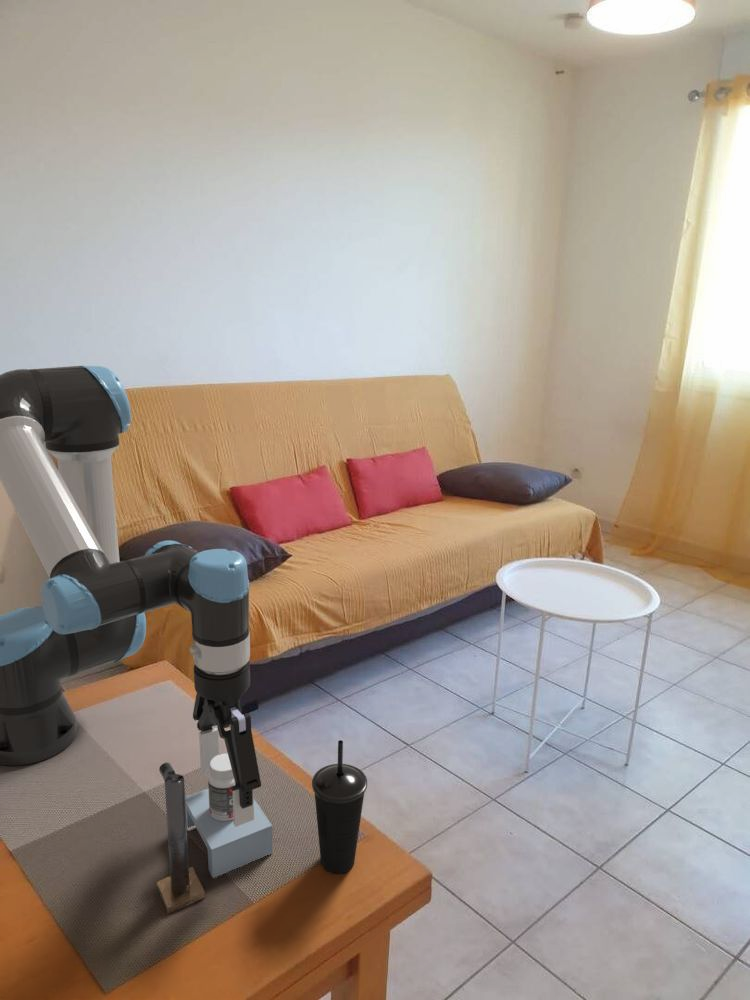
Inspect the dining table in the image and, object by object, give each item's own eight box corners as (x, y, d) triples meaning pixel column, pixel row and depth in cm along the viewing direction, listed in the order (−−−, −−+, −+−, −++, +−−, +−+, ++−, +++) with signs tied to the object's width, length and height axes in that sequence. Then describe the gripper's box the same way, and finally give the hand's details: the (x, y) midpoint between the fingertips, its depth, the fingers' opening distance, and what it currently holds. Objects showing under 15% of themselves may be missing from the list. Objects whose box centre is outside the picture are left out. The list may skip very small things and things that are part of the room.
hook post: (153, 879, 99) (145, 769, 93) (189, 865, 101) (183, 756, 96) (168, 913, 94) (160, 798, 88) (205, 897, 96) (200, 785, 91)
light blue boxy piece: (184, 824, 109) (183, 797, 107) (240, 804, 113) (239, 777, 112) (212, 879, 99) (211, 849, 98) (272, 853, 104) (272, 825, 102)
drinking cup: (363, 883, 99) (368, 760, 93) (308, 881, 99) (309, 758, 94) (365, 842, 107) (369, 726, 101) (313, 840, 107) (315, 724, 101)
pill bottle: (235, 824, 102) (233, 775, 100) (204, 819, 103) (201, 770, 101) (247, 802, 107) (246, 754, 104) (217, 797, 108) (215, 749, 105)
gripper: (167, 631, 106) (174, 755, 112) (229, 715, 86) (233, 859, 92) (215, 620, 110) (219, 740, 116) (286, 698, 90) (286, 838, 96)
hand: (226, 793), depth 104 cm, fingers open, 12 cm apart
